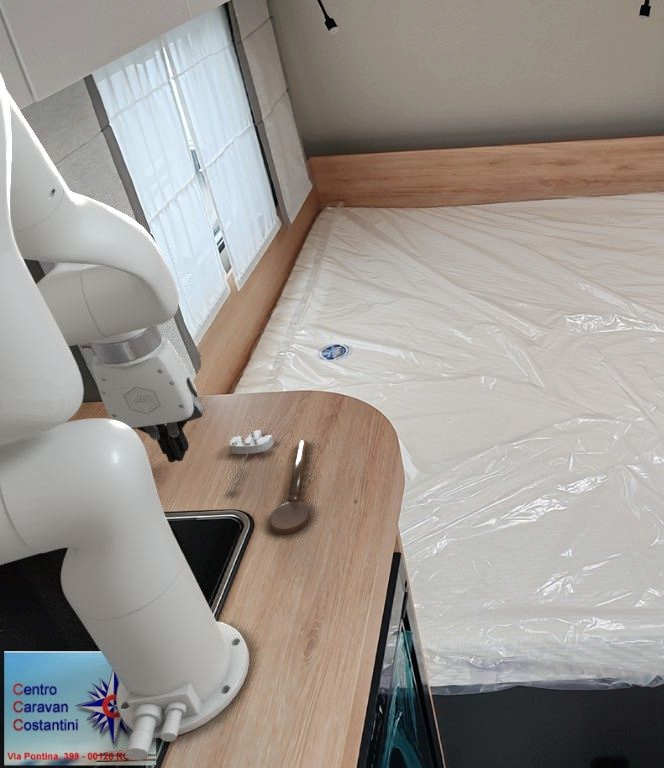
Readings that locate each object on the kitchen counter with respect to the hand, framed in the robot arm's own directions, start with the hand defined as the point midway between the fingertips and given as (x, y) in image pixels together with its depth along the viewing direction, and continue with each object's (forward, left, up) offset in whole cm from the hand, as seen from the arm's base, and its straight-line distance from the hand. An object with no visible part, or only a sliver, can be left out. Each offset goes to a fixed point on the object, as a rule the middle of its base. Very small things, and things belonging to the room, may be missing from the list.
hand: (178, 454), depth 102 cm
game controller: (-1, -8, -3) cm, 9 cm away
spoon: (-7, -16, -3) cm, 18 cm away
